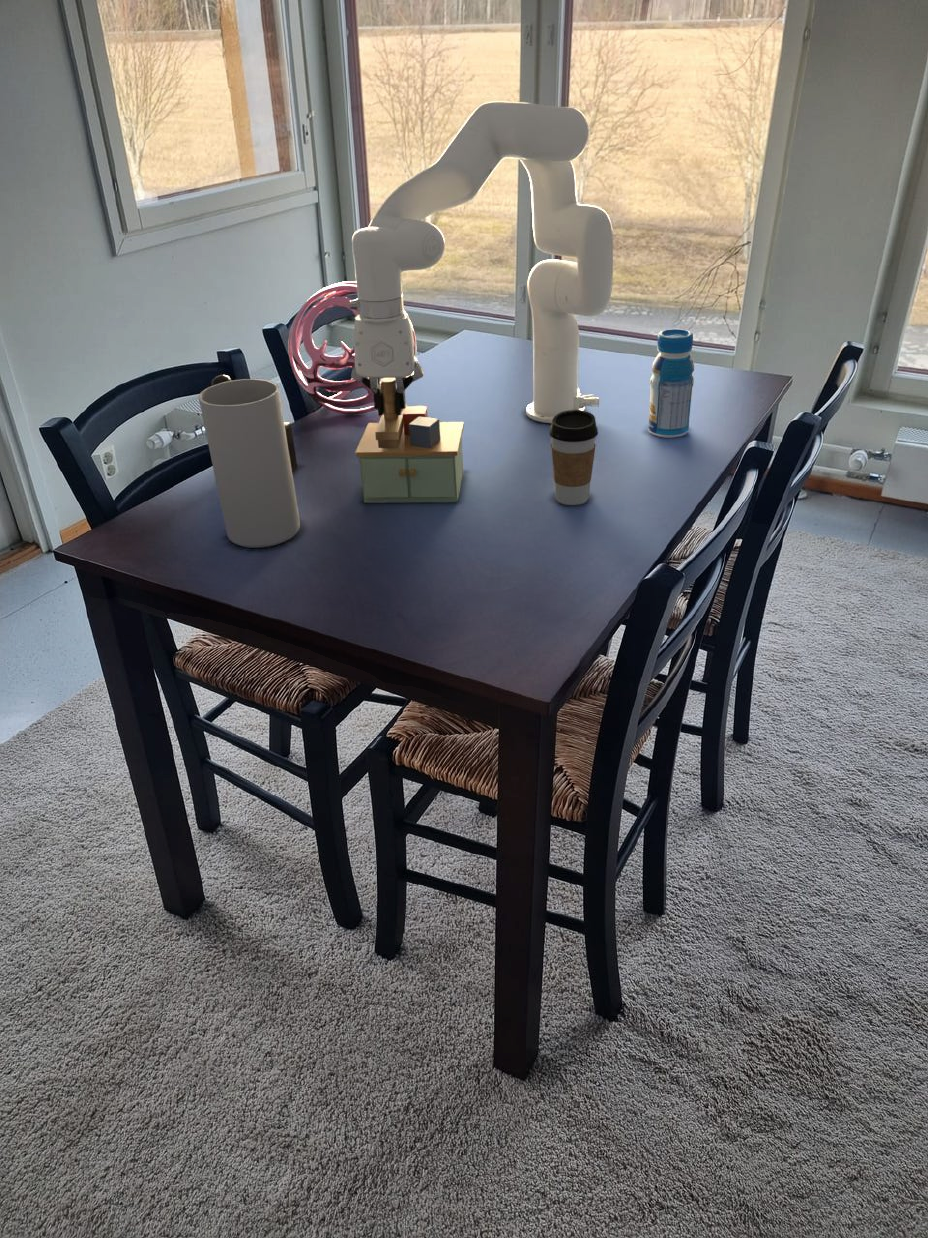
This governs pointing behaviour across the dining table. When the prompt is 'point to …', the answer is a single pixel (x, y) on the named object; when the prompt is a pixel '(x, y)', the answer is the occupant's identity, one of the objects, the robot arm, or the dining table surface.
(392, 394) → the brush
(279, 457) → the cylinder vase
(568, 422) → the coffee cup
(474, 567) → the dining table surface
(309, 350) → the pink openwork sphere
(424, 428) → the slate block
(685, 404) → the beverage bottle
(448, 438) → the cabinet
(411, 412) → the terracotta block
